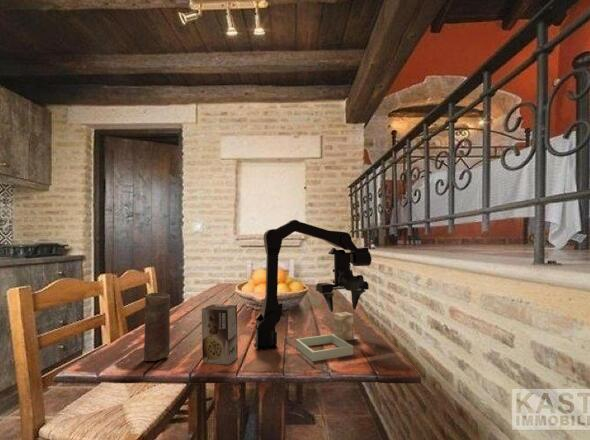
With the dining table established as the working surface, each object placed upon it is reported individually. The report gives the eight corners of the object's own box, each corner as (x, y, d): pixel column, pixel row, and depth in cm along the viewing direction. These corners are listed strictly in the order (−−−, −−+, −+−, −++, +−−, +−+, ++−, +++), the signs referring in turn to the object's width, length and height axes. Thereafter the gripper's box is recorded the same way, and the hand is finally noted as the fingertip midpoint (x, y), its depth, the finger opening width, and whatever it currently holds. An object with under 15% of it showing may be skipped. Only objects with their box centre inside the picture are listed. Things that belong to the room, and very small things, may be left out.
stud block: (339, 344, 115) (339, 328, 115) (329, 337, 122) (328, 322, 122) (359, 341, 118) (359, 325, 118) (348, 334, 125) (347, 320, 125)
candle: (162, 352, 109) (162, 291, 110) (174, 357, 105) (174, 293, 106) (139, 359, 104) (139, 294, 104) (151, 365, 99) (151, 296, 100)
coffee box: (238, 357, 104) (238, 305, 105) (228, 365, 98) (228, 309, 99) (212, 354, 107) (212, 303, 107) (201, 362, 100) (201, 308, 101)
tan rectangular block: (341, 339, 117) (340, 316, 117) (334, 335, 121) (334, 313, 122) (353, 337, 118) (353, 314, 119) (346, 333, 123) (346, 311, 123)
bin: (312, 364, 97) (312, 352, 97) (295, 349, 110) (295, 339, 110) (353, 357, 102) (353, 346, 102) (332, 344, 115) (332, 334, 115)
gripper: (329, 270, 110) (330, 318, 109) (377, 267, 117) (378, 312, 116) (315, 267, 120) (315, 311, 120) (359, 265, 127) (360, 306, 127)
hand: (343, 310), depth 120 cm, fingers open, 9 cm apart
